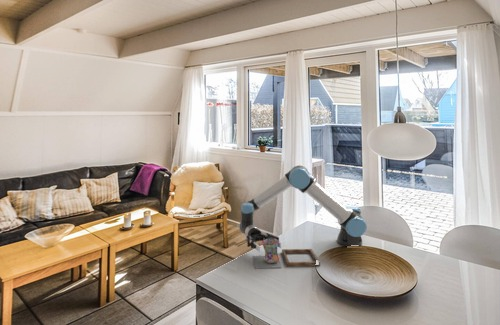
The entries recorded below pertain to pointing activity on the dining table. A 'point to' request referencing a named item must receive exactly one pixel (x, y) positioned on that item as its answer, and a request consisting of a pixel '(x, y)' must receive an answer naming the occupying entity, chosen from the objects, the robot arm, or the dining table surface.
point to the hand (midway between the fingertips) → (270, 247)
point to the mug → (270, 250)
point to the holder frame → (299, 264)
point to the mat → (264, 263)
